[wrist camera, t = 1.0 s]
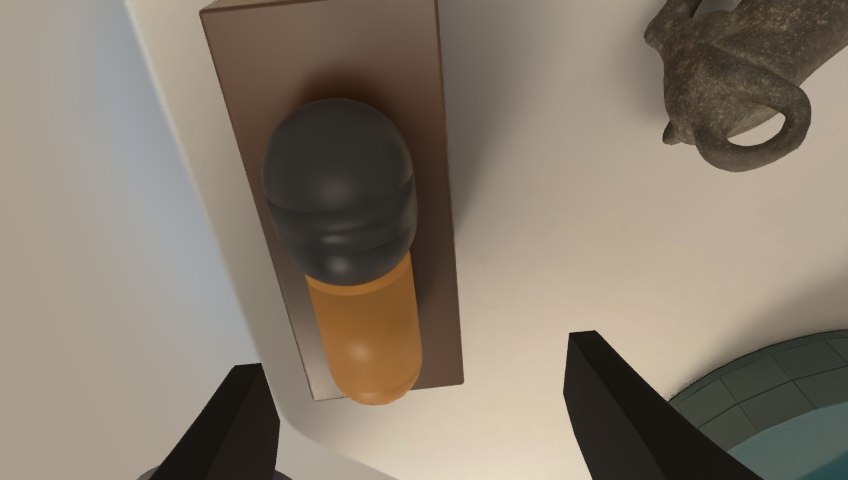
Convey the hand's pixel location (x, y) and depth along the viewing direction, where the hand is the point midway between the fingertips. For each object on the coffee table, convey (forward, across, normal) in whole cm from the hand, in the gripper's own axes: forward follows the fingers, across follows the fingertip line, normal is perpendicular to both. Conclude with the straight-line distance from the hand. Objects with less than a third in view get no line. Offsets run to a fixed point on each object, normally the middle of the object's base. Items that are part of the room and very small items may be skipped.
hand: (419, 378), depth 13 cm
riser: (+10, +1, -2) cm, 10 cm away
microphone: (+3, +1, -2) cm, 4 cm away
